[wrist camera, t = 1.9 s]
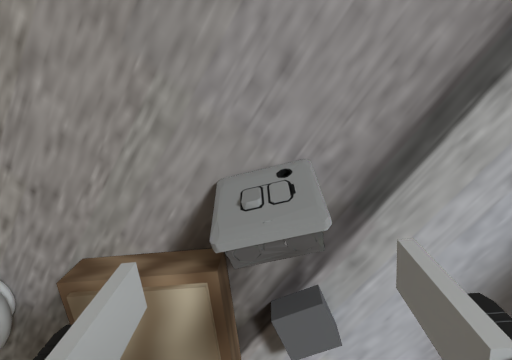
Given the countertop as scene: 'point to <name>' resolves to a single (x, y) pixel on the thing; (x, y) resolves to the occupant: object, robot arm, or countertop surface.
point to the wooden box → (167, 303)
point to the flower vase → (6, 312)
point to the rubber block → (304, 323)
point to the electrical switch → (269, 214)
